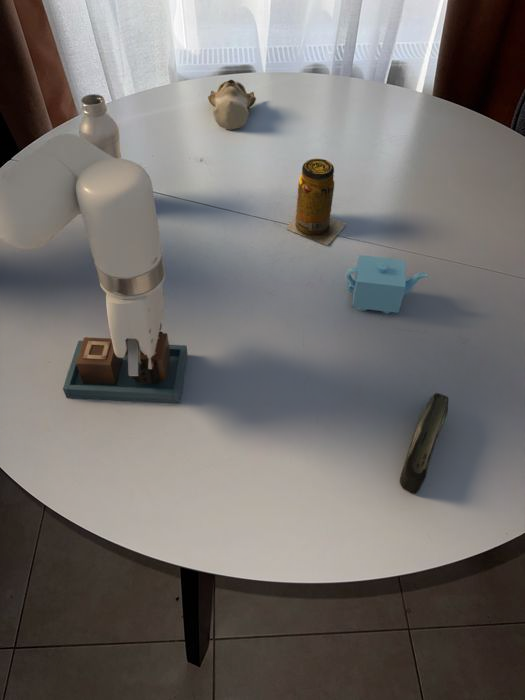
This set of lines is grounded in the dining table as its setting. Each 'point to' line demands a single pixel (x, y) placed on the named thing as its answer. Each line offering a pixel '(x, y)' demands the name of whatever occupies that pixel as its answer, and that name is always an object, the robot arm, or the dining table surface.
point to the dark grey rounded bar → (423, 443)
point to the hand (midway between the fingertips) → (150, 365)
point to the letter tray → (131, 382)
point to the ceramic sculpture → (231, 104)
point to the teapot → (380, 283)
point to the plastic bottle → (99, 126)
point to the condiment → (316, 203)
